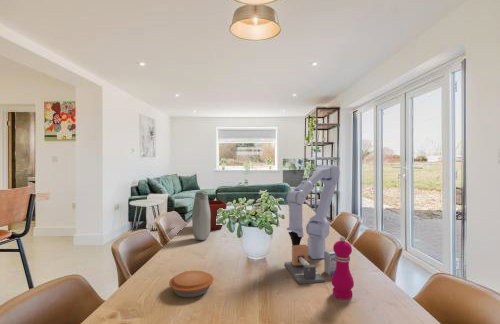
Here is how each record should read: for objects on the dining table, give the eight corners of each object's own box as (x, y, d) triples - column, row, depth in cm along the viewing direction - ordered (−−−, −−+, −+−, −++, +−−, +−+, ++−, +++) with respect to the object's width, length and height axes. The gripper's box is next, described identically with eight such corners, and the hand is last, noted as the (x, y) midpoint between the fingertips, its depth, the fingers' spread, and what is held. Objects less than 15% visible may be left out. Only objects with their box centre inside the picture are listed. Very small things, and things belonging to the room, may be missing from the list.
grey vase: (209, 242, 156) (208, 191, 155) (190, 242, 156) (190, 191, 155) (211, 237, 165) (211, 189, 165) (194, 237, 166) (194, 189, 165)
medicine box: (329, 275, 111) (329, 254, 111) (323, 271, 115) (323, 250, 115) (347, 273, 113) (347, 252, 113) (340, 269, 117) (340, 248, 117)
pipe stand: (284, 264, 123) (284, 251, 123) (306, 262, 124) (306, 250, 124) (298, 283, 104) (298, 268, 104) (324, 281, 106) (324, 267, 106)
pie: (169, 304, 90) (169, 289, 90) (169, 283, 105) (169, 270, 105) (217, 297, 95) (216, 282, 95) (210, 278, 110) (210, 265, 109)
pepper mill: (336, 288, 101) (336, 232, 100) (356, 294, 96) (356, 236, 96) (327, 295, 95) (327, 237, 95) (349, 302, 90) (349, 241, 90)
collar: (291, 262, 119) (291, 245, 119) (305, 261, 120) (305, 244, 120) (294, 265, 116) (294, 247, 116) (307, 264, 117) (307, 246, 117)
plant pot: (194, 225, 193) (193, 201, 193) (221, 223, 199) (221, 199, 199) (197, 232, 175) (197, 205, 175) (227, 230, 181) (227, 204, 180)
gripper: (282, 214, 130) (282, 244, 130) (291, 222, 116) (291, 254, 116) (297, 214, 131) (297, 243, 131) (308, 221, 117) (308, 253, 117)
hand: (295, 248), depth 124 cm, fingers closed
